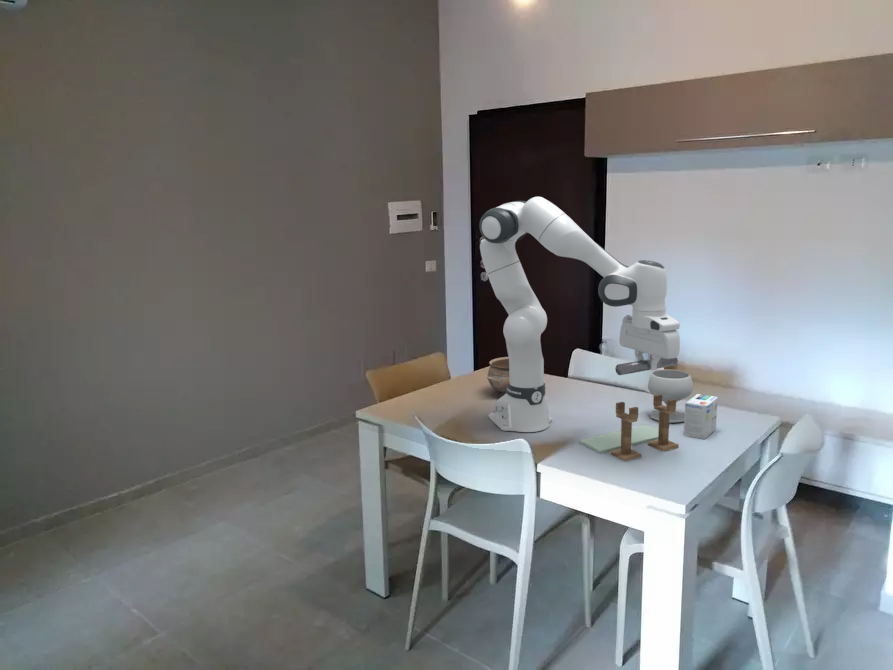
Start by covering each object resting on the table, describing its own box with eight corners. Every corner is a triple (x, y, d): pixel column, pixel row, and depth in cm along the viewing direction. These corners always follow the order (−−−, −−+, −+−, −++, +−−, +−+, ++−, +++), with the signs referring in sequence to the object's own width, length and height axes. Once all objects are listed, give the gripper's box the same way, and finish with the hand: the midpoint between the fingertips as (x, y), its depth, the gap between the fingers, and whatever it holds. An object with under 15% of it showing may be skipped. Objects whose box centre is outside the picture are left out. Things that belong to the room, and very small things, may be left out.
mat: (579, 442, 198) (579, 440, 198) (645, 427, 210) (645, 424, 209) (600, 453, 190) (600, 450, 189) (668, 436, 201) (668, 434, 201)
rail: (622, 376, 180) (623, 366, 179) (614, 373, 183) (615, 363, 182) (676, 366, 189) (678, 356, 188) (669, 363, 191) (670, 353, 190)
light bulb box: (695, 425, 210) (696, 393, 208) (716, 429, 206) (718, 396, 203) (682, 435, 202) (684, 401, 199) (705, 439, 197) (707, 405, 195)
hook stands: (609, 454, 189) (610, 404, 186) (662, 441, 197) (664, 393, 194) (625, 461, 183) (626, 410, 180) (679, 448, 192) (681, 398, 189)
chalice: (697, 424, 210) (699, 379, 207) (652, 425, 211) (654, 380, 208) (684, 410, 224) (686, 368, 221) (642, 411, 225) (644, 368, 222)
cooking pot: (518, 382, 265) (518, 352, 263) (553, 391, 251) (553, 360, 248) (471, 395, 250) (470, 363, 247) (506, 406, 235) (505, 373, 233)
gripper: (614, 315, 190) (613, 361, 193) (666, 326, 172) (664, 377, 175) (631, 312, 193) (630, 358, 196) (684, 323, 175) (682, 374, 178)
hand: (647, 367), depth 185 cm, fingers closed on rail, 3 cm apart
